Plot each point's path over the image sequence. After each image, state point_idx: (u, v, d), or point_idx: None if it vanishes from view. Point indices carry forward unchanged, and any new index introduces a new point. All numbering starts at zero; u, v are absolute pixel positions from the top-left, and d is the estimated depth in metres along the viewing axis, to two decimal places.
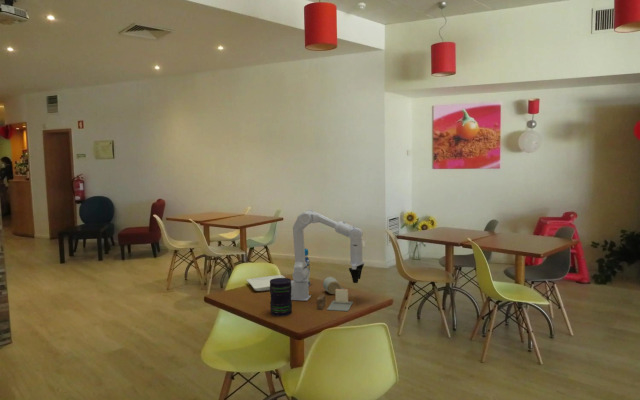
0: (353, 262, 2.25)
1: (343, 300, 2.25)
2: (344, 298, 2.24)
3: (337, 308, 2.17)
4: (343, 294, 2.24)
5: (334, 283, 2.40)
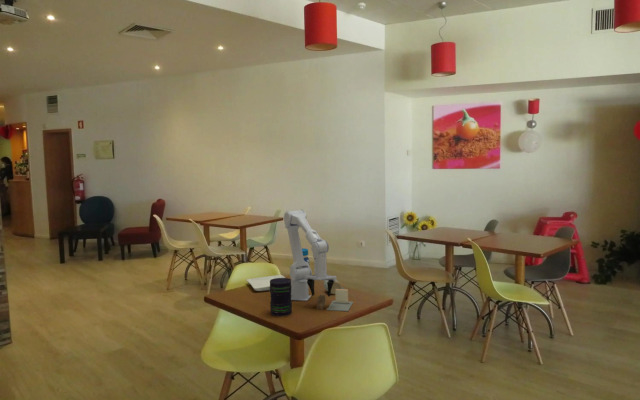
0: None
1: (343, 300, 2.25)
2: (344, 298, 2.24)
3: (337, 308, 2.17)
4: (343, 294, 2.24)
5: (335, 283, 2.40)
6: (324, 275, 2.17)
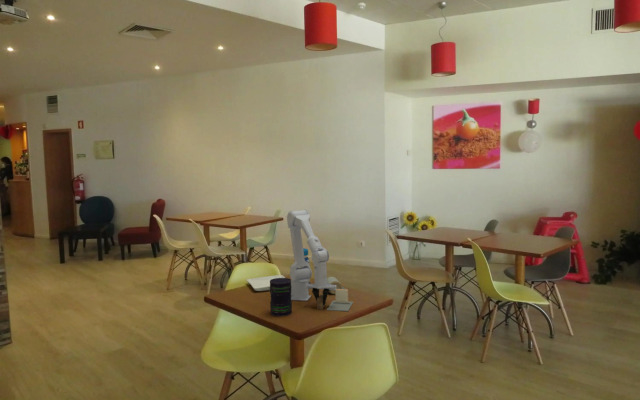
0: None
1: (343, 300, 2.25)
2: (344, 298, 2.24)
3: (337, 308, 2.17)
4: (343, 294, 2.24)
5: (335, 283, 2.40)
6: (324, 284, 2.18)
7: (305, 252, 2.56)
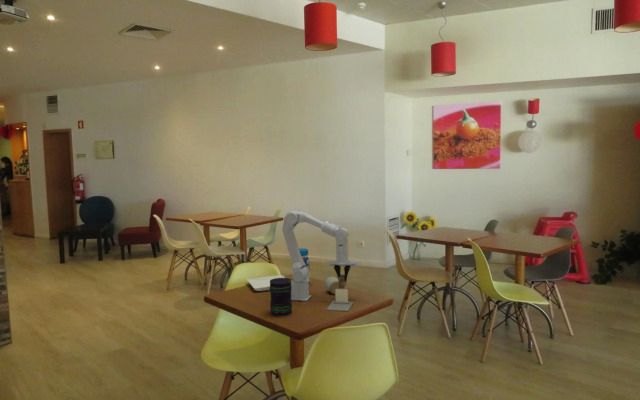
0: None
1: (343, 300, 2.25)
2: (344, 298, 2.24)
3: (337, 308, 2.17)
4: (343, 294, 2.24)
5: (336, 283, 2.40)
6: (346, 261, 2.26)
7: (305, 252, 2.56)
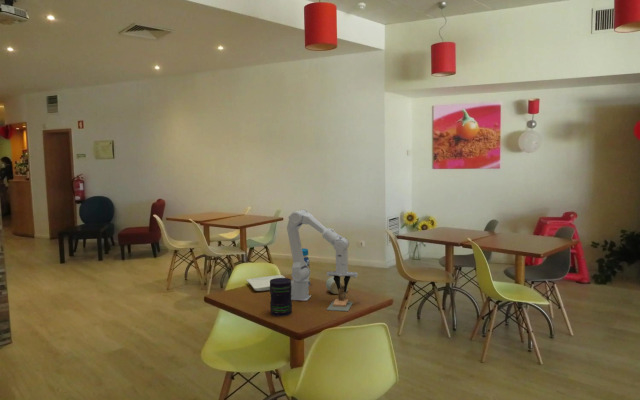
0: None
1: None
2: None
3: (337, 308, 2.17)
4: None
5: None
6: (345, 271, 2.23)
7: (305, 252, 2.56)
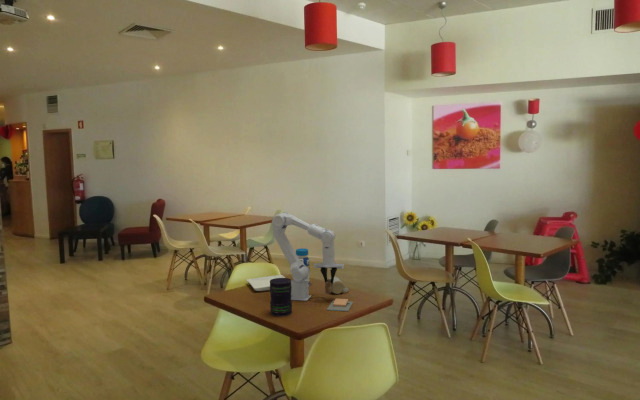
0: None
1: None
2: None
3: (337, 308, 2.17)
4: None
5: (338, 283, 2.40)
6: (332, 263, 2.27)
7: (305, 252, 2.56)
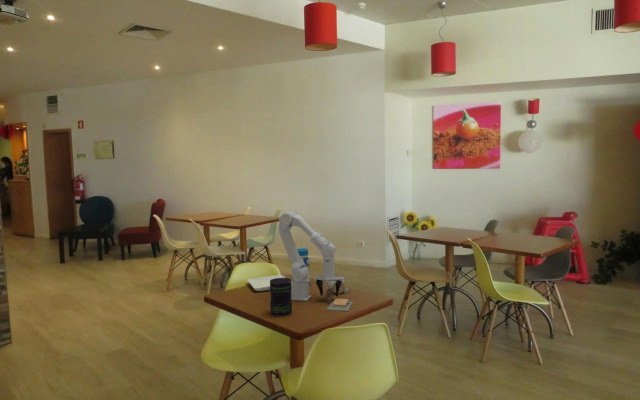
0: None
1: None
2: None
3: (337, 308, 2.17)
4: None
5: None
6: (332, 276, 2.28)
7: (305, 252, 2.56)
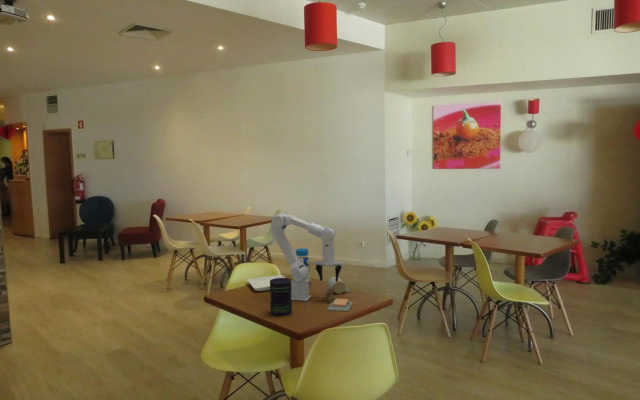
0: None
1: None
2: None
3: (337, 308, 2.17)
4: None
5: (339, 282, 2.40)
6: (332, 261, 2.27)
7: (305, 252, 2.56)
